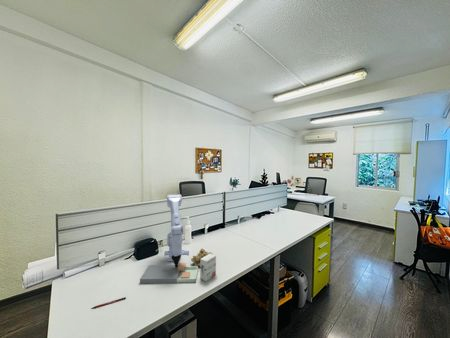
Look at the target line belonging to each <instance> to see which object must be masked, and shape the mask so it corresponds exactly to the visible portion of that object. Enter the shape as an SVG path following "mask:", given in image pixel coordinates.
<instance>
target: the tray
mask: <svg viewBox="0 0 450 338" xmlns="http://www.w3.org/2000/svg"><path fill="white" fill-rule="evenodd" d="M182 272H190V278H184V279H181V275H182ZM198 272H199V266H193V265H192V266H191V265H190V266H189V265H188V266H187V265H186V268H185V271H182V270H181V271H180V274H179V277H178V279H177V283H176V284H179V283H180V284H184V283H185V284H186V283H189V284H190V283H191V284H192V283H193V284H194V283H197V278H198V277H197V276H198Z"/></svg>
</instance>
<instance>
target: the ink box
mask: <svg viewBox="0 0 450 338" xmlns="http://www.w3.org/2000/svg"><path fill="white" fill-rule="evenodd" d="M211 253H212V252H211ZM211 253H210V254H208V255H206V256H205V257H203V258H201V259H200V266H199V267H200V269H199V270H200V271H199V273H200V274H199V275H200V277H199V278H200V279H201V280H202V281H204V282H208V281H209V280H210V279H211V278H213V277H214V276H216V275H217V273H216V271H217V266H216V265H217V259H216V258H217V255H215V254H213V253H212V254H211Z"/></svg>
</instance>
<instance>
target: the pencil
mask: <svg viewBox="0 0 450 338" xmlns="http://www.w3.org/2000/svg"><path fill="white" fill-rule="evenodd" d="M126 298H127V297H126V296H125V297H122V298H119V299H114V300H111V301H109V302H104V303H100V304H98V305H95V306H93V307H91V308H90V309H97V308H101V307H104V306H108V305H112V304H115V303H118V302H121V301H125V300H126Z"/></svg>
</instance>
